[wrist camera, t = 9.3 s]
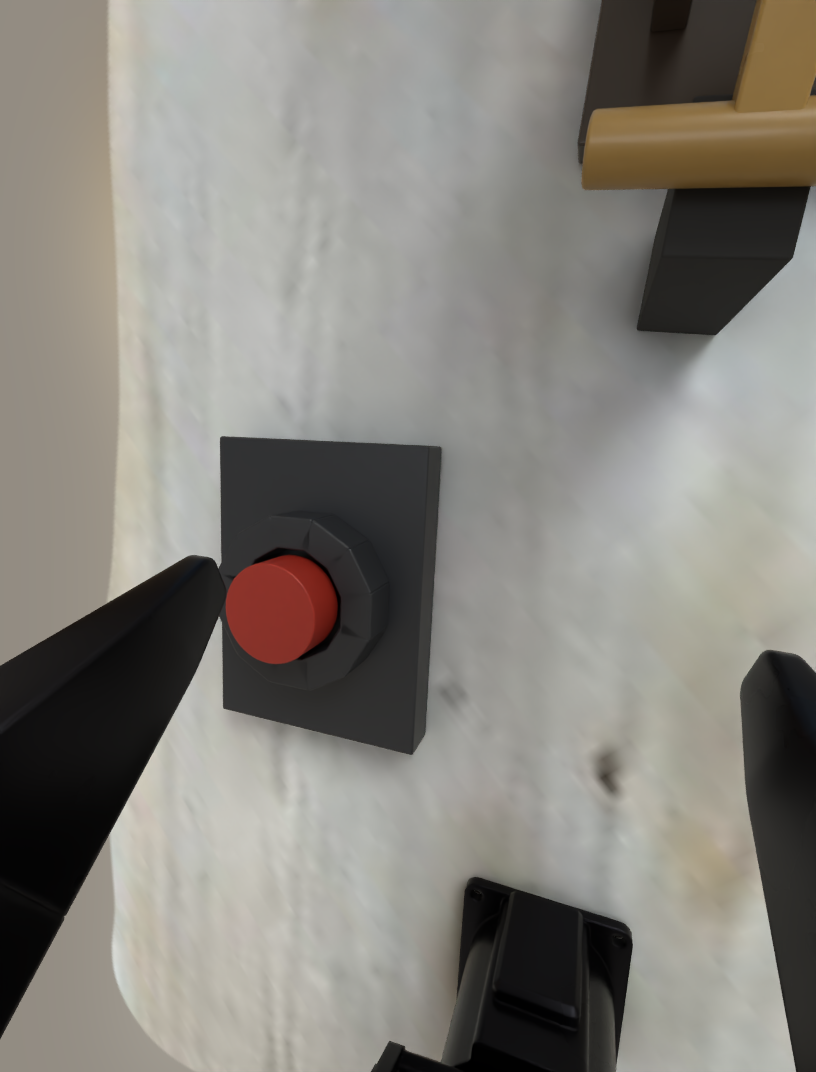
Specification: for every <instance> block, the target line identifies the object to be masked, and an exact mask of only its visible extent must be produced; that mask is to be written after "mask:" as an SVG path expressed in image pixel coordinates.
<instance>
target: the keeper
mask: <svg viewBox="0 0 816 1072" xmlns="http://www.w3.org/2000/svg"><path fill="white" fill-rule="evenodd" d="M811 95H816V88H814V89H811V93H810V96H811ZM732 97H733V94H723V95H708V96H696V97H695V98H694V99H693V101H692V103H699V102H715V101H731V100H732ZM810 187H811V186H804V187H746V188H688V189H668V192H667V195H666V199H665V203H664V206H663V210H662V214H661V217H660V221H659V224H658V228H657V232H656V236H655V241H654V246H653V251H652V256H651V261H650V266H649V270H648V275H647V280H646V285H645V290H644V295H643V300H642V305H641V310H640V315H639V320H638V325H637V330H639V331H655V332H672V333H689V334H706V335H717V334H718V333H719V332H720V331H721V330H722V329H723V328H724V327H725V326H726V325H727V324H728V323H729V322H730V321H731V320H732V319H733V318H734V317H735V316H736V315H737V314H738V313H739V312H740V311H741V310H742V309H743V308H744V306H745V305H746V304H747V303H748V302H749V301H750V300H751V299H752V298H753V297H754V296H755V295H756V294H757V293H758V292H759V291H760V290H761V289H762V288H763V287H764V286H765V285H766V284H767V283H768V282H769V281H770V280H771V279H772V278H773V277H774V276H775V275H776V274H777V273H778V272H779V271H780V270H781V269H782V268H783V267H784V266H785V265H786V264H787V263H788V262H789V261H790V260H791V259H792V258H793V255H794V251H795V247H796V243H797V239H798V235H799V231H800V227H801V223H802V219H803V215H804V211H805V207H806V203H807V199H808V195H809V191H810Z"/></svg>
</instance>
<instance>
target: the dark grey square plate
mask: <svg viewBox="0 0 816 1072" xmlns="http://www.w3.org/2000/svg"><path fill="white" fill-rule="evenodd" d="M440 467H441V447H437V446H420V445H398V444H377V443H355V442H333V441H312V440H290V439H269V438H247V437H226V436H222V437H220V469H221V556H222V563H221V565H220V567H219V572H220V574H221V576H222V579H223V581H224V584H225V586H226V598H227V593H228V590H229V587H230V585H231V583H232V582H233V580H234V578H235V577H236V576H237V575H238V574H239V573H240V572H241V571H242V570H244V569H245V568H247V567H249V566H251V565H254V564H257V563H260V562H263V561H267V560H270V559H273V558H276V557H279V556H283V555H297V556H301V557H304V558H307V559H309V560H311V561H313V562H314V563H315V564H317V565H318V566H319V567H320V568H321V569H322V570H323V571H324V572H325V573H326V574H327V576H328V577H329V579H330V580H331V582H332V584H333V587H334V589H335V592H336V596H337V602H338V611H337V618H336V622H335V625H334V627H333V629H332V631H331V632H330V634H329V635H328V636H327V637H326V638H325V639H324V640H323V641H322V642H321V643H319V644H318V645H316V646H315V647H313V648H312V649H310V650H309V651H307V652H306V653H304V654H303V655H301V656H300V657H299V658H297V659H295V660H293V661H291V662H288V663H284V664H269V663H265V662H262V661H260V660H257V659H256V658H254V657H252V656H251V655H250V654H248V653H247V652H246V651H245V650H244V649H243V648H242V647H241V646H240V645H239V644H238V642H237V641H236V639H235V638H234V636H233V634H232V632H231V630H230V627H229V624H228V621H227V616H226V599H225V602H224V604H223V607H222V609H221V612H220V614H219V617H220V619H221V621H222V644H223V708H224V709H228V710H232V711H236V712H240V713H244V714H248V715H252V716H256V717H260V718H264V719H268V720H272V721H276V722H280V723H284V724H289V725H293V726H297V727H301V728H305V729H309V730H313V731H317V732H321V733H325V734H329V735H333V736H337V737H341V738H345V739H349V740H353V741H358V742H362V743H366V744H370V745H374V746H378V747H382V748H386V749H390V750H394V751H398V752H402V753H406V754H410V755H412V754H413V753H414V751H415V750H416V748H417V746H418V745H419V743H420V742H421V740H422V738H423V737H424V735H425V728H426V710H427V693H428V676H429V658H430V641H431V623H432V606H433V589H434V571H435V554H436V536H437V519H438V501H439V484H440Z"/></svg>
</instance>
